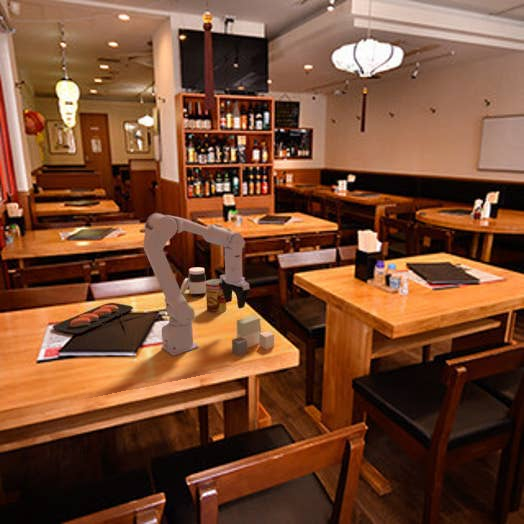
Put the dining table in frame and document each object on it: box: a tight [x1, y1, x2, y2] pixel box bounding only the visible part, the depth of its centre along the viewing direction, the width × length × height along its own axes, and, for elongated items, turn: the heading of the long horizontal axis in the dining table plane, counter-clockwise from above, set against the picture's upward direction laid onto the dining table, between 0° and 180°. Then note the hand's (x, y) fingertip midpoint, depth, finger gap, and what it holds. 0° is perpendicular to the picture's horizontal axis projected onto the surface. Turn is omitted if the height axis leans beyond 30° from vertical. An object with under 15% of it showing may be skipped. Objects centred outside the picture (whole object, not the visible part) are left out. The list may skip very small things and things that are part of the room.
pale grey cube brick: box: [259, 330, 275, 350], centre depth 135 cm, size 3×3×4 cm
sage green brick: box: [236, 315, 261, 336], centre depth 135 cm, size 7×3×4 cm, turn 130°
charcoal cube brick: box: [231, 337, 248, 357], centre depth 130 cm, size 3×3×4 cm
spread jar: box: [180, 266, 207, 298], centre depth 186 cm, size 12×11×12 cm
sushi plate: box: [52, 302, 150, 338], centre depth 156 cm, size 29×30×4 cm
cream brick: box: [236, 331, 260, 349], centre depth 136 cm, size 7×3×4 cm, turn 129°
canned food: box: [205, 278, 228, 314], centre depth 166 cm, size 8×8×12 cm
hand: (234, 304), depth 143 cm, fingers open, 7 cm apart
